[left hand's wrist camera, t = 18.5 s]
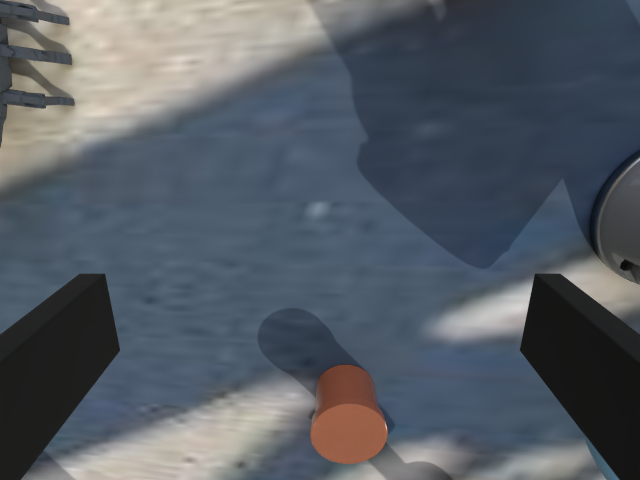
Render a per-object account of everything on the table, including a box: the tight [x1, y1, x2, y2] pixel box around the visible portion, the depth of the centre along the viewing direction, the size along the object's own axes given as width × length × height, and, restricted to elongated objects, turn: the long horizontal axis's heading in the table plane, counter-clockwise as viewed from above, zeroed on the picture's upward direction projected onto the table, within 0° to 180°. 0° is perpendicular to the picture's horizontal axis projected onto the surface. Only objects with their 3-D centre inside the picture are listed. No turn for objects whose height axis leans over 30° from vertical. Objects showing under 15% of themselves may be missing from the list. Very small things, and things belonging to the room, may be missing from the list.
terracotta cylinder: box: [310, 365, 388, 464], centre depth 46 cm, size 8×8×7 cm
